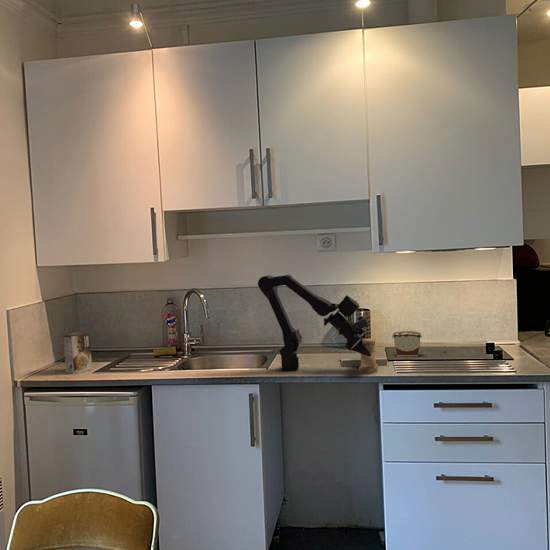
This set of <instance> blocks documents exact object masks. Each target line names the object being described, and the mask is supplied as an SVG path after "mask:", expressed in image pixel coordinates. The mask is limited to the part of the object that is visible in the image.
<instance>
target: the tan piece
mask: <svg viewBox="0 0 550 550" xmlns="http://www.w3.org/2000/svg"><path fill="white" fill-rule="evenodd" d="M363 344H364V346H365V347H366V348H367V349H368V351H369V352H370V353H371V356H370V357H369V356H366V355H364V354H361V365H360V366H358V371H359V372H358V373H367V372H376V373H377V372H378V370H377V369H379V366H378V364H376V358H375V353H376V338H366V339H363Z"/></svg>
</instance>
